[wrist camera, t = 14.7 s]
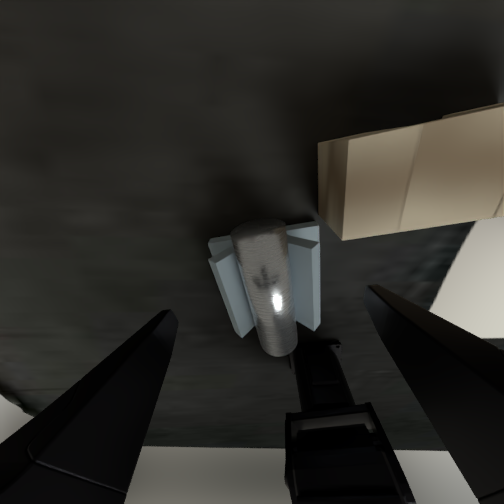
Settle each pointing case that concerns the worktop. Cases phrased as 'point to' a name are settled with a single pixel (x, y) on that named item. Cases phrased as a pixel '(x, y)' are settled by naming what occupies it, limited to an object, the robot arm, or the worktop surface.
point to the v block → (302, 274)
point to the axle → (267, 282)
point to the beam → (414, 175)
